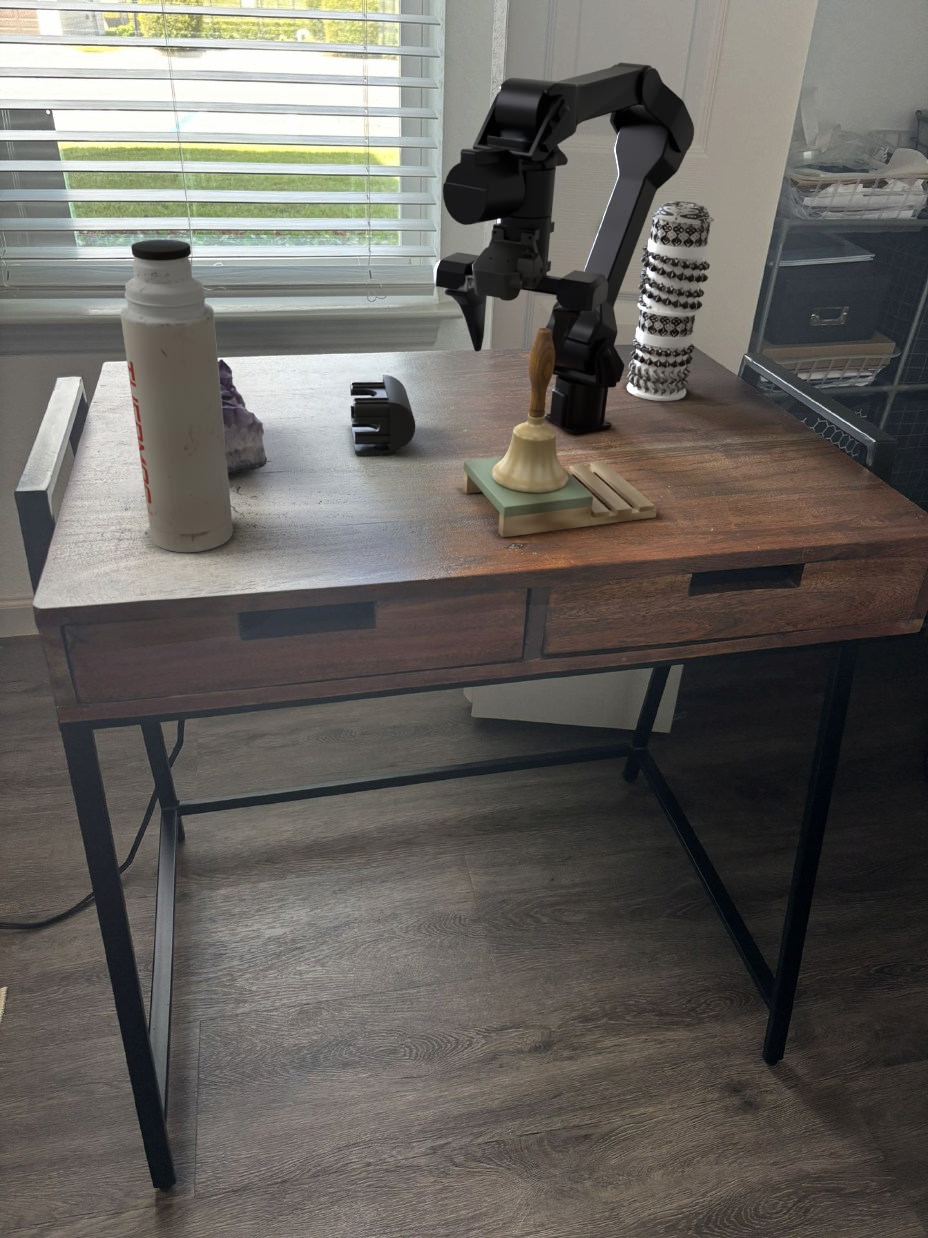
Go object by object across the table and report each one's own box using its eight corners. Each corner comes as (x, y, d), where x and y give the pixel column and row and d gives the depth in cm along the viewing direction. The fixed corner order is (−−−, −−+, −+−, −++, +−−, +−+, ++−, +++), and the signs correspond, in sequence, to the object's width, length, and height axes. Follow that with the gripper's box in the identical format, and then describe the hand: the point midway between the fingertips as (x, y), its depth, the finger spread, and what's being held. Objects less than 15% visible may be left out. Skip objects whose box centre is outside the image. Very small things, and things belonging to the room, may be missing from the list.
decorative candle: (610, 386, 144) (633, 200, 130) (655, 375, 149) (682, 195, 135) (656, 406, 138) (685, 213, 124) (701, 394, 143) (734, 208, 129)
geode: (148, 426, 124) (149, 345, 119) (243, 430, 128) (247, 352, 123) (161, 488, 107) (163, 397, 103) (269, 490, 112) (275, 403, 107)
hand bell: (577, 469, 110) (593, 323, 101) (556, 499, 103) (572, 346, 94) (505, 456, 112) (515, 312, 103) (480, 484, 105) (489, 333, 97)
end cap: (415, 456, 119) (416, 402, 116) (355, 457, 118) (354, 403, 115) (406, 425, 128) (407, 373, 124) (350, 426, 127) (350, 374, 123)
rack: (606, 472, 118) (609, 445, 116) (656, 517, 108) (660, 487, 107) (462, 489, 112) (464, 460, 110) (502, 537, 103) (504, 506, 101)
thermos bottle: (144, 553, 97) (101, 252, 82) (158, 515, 103) (121, 231, 89) (228, 552, 98) (200, 254, 83) (237, 516, 104) (213, 234, 89)
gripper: (412, 213, 103) (409, 362, 112) (582, 237, 97) (566, 393, 105) (458, 198, 112) (452, 337, 120) (617, 219, 106) (600, 364, 114)
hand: (514, 357), depth 115 cm, fingers open, 9 cm apart
